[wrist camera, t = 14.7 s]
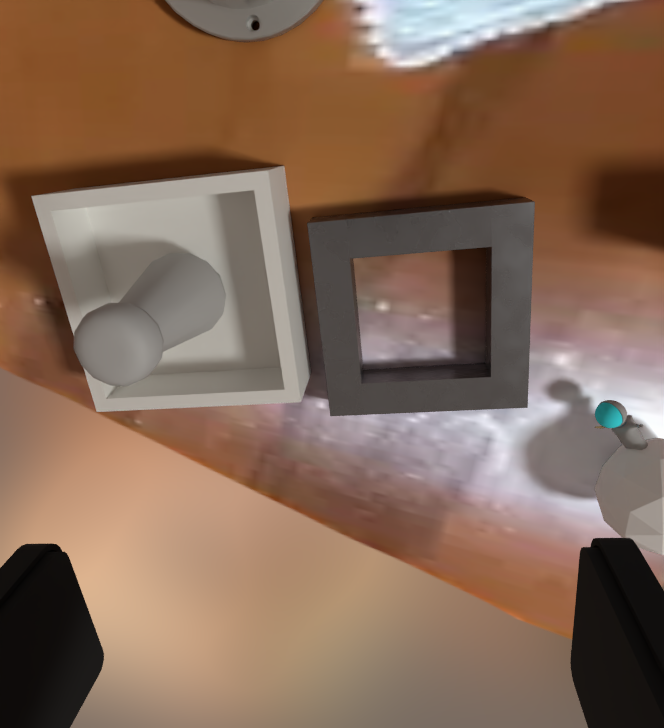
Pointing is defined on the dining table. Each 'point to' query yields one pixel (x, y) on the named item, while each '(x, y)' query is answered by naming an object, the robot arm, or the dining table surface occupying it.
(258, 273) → the bin
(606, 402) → the perfume bottle
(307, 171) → the dining table surface
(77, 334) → the salt shaker
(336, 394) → the collar block
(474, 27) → the dining table surface
